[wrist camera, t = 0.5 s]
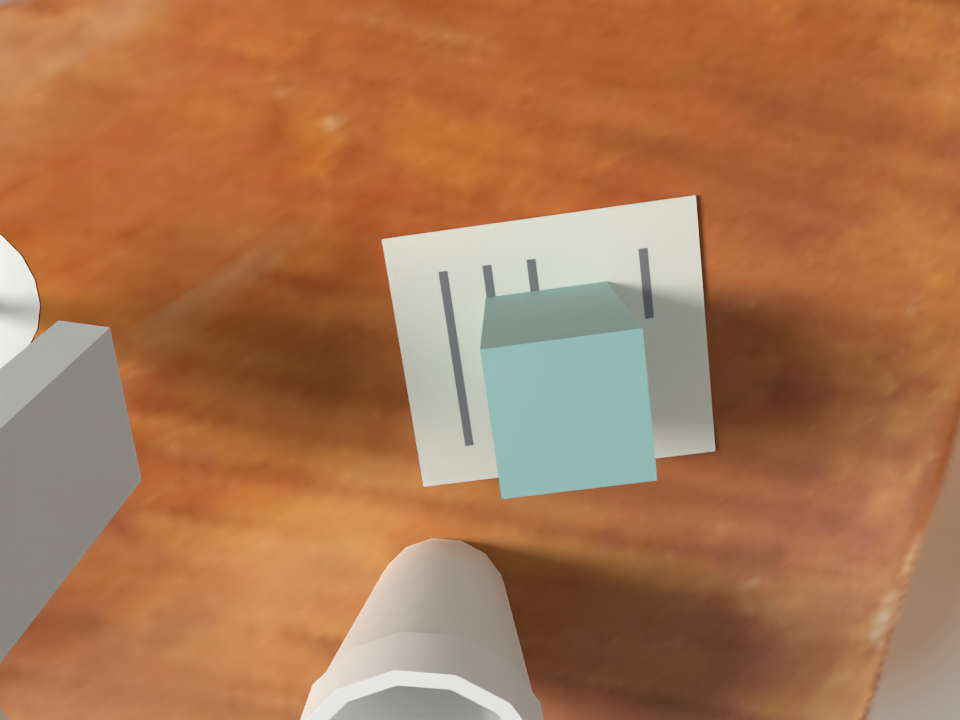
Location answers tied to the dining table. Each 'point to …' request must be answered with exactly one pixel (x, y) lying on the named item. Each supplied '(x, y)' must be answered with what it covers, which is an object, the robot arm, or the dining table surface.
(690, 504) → the dining table surface
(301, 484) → the dining table surface
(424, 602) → the foam cup
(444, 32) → the dining table surface
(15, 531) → the robot arm
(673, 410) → the letter
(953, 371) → the dining table surface
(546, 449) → the block
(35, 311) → the wineglass
